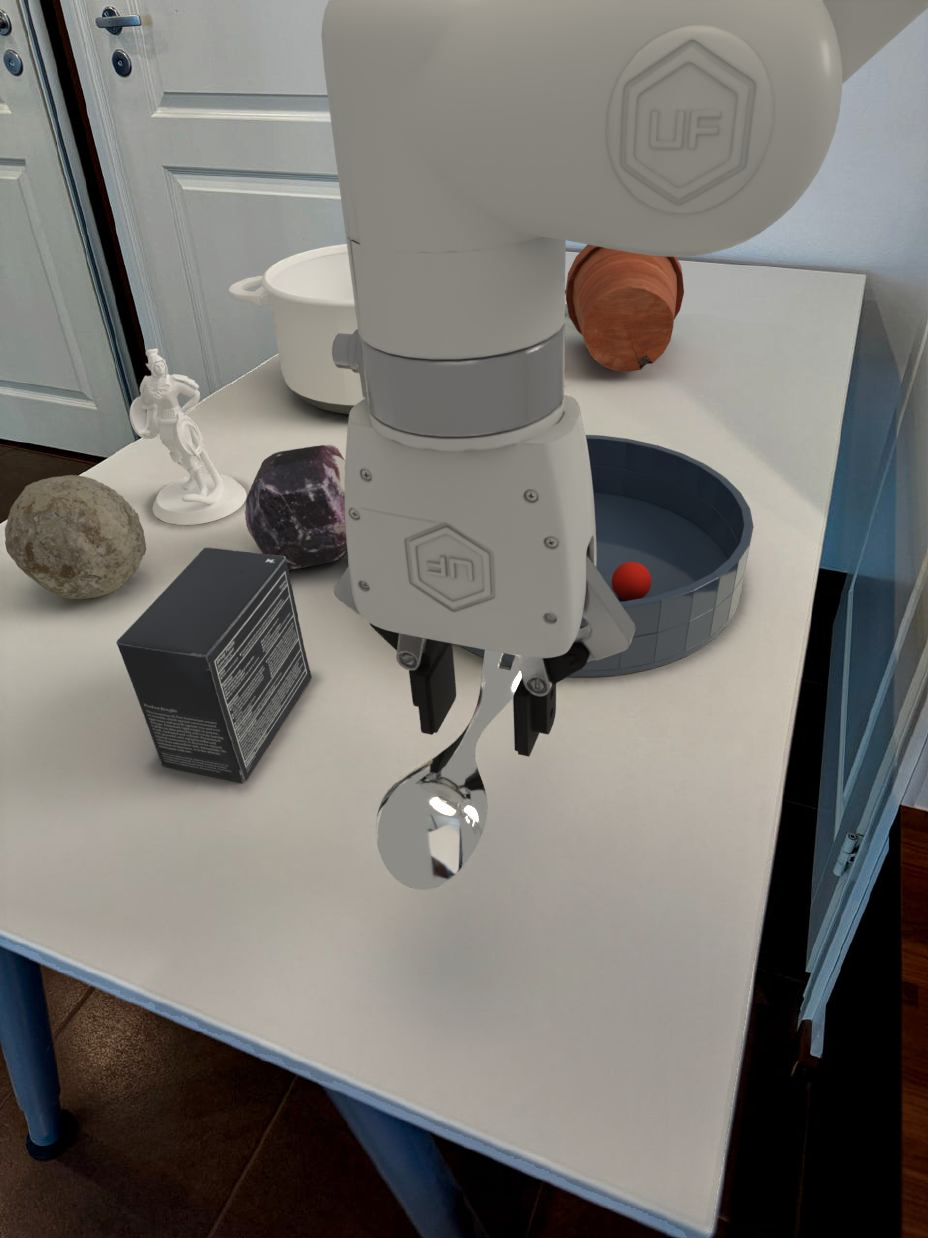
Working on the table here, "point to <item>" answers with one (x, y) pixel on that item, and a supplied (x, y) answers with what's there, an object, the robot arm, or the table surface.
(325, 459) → the mineral specimen
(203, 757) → the small box
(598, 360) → the potted plant
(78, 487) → the decorative stone
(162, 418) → the figurine
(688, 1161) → the table surface
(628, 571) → the tomato
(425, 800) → the metal spoon
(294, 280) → the pot
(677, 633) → the bowl
